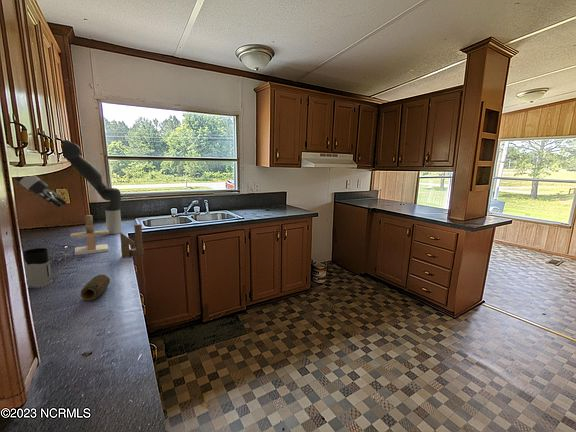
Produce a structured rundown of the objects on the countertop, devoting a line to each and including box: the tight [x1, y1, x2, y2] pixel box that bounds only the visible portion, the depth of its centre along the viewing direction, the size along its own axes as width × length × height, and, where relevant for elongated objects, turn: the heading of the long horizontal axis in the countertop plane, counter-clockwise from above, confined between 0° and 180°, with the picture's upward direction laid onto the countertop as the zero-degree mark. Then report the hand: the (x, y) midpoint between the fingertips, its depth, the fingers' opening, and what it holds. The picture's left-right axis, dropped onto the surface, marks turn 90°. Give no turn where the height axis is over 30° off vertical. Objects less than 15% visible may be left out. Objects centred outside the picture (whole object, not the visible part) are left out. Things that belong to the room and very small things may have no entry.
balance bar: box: [70, 214, 110, 239], centre depth 161 cm, size 5×18×12 cm, turn 126°
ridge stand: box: [74, 236, 109, 256], centre depth 163 cm, size 11×16×10 cm
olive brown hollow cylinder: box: [80, 274, 111, 302], centre depth 111 cm, size 15×7×7 cm, turn 21°
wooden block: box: [119, 223, 145, 259], centre depth 156 cm, size 4×11×18 cm, turn 129°
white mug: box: [22, 247, 67, 289], centre depth 118 cm, size 9×14×15 cm, turn 118°
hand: (63, 205), depth 154 cm, fingers open, 8 cm apart
